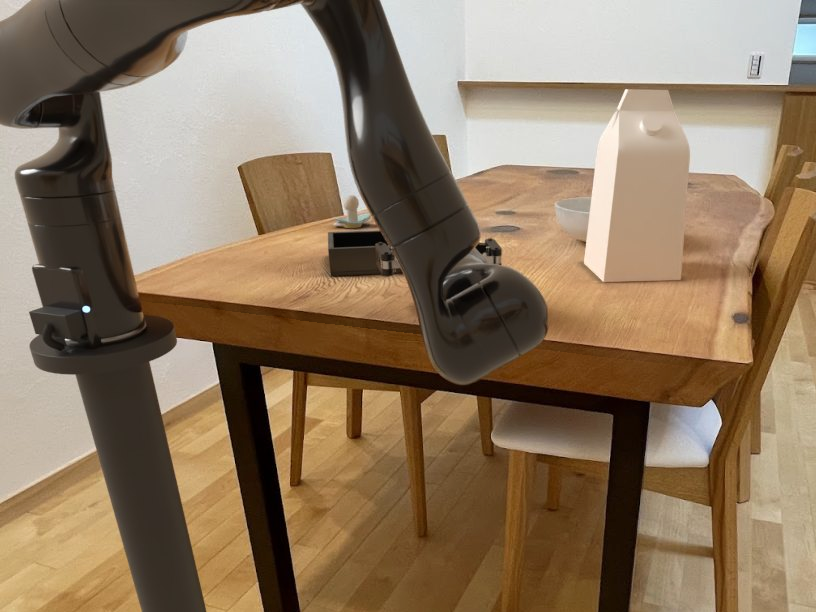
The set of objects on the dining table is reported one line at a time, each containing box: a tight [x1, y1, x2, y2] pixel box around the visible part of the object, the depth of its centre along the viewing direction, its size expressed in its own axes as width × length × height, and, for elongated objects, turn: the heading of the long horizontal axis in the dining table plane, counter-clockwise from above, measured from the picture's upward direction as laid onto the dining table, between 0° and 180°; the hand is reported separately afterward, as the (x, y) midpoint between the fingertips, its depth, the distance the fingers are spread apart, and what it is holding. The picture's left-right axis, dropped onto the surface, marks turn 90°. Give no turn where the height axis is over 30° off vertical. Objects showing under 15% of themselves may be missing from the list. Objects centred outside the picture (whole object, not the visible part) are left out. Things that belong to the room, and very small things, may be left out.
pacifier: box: [332, 194, 371, 229], centre depth 132 cm, size 7×6×6 cm
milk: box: [583, 88, 691, 283], centre depth 98 cm, size 12×12×26 cm
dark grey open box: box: [327, 229, 403, 277], centre depth 104 cm, size 13×13×4 cm
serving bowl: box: [554, 196, 592, 243], centre depth 121 cm, size 21×21×7 cm
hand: (430, 243), depth 83 cm, fingers open, 8 cm apart
